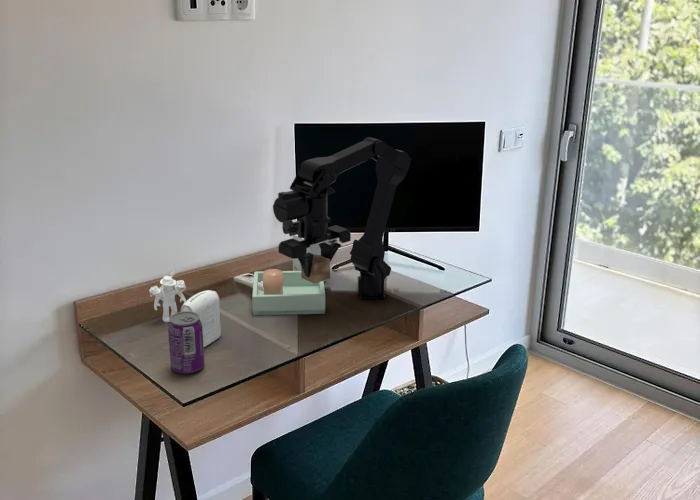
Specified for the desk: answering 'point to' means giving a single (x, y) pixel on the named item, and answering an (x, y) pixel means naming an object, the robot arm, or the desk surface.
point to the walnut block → (318, 269)
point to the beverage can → (186, 342)
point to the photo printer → (206, 313)
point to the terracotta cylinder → (273, 282)
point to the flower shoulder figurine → (168, 295)
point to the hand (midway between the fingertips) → (315, 273)
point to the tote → (289, 296)
